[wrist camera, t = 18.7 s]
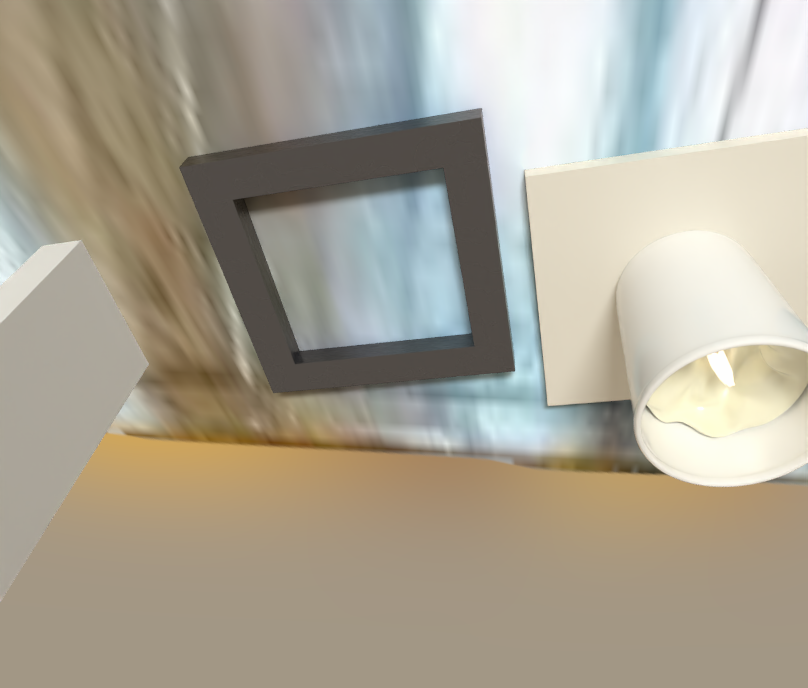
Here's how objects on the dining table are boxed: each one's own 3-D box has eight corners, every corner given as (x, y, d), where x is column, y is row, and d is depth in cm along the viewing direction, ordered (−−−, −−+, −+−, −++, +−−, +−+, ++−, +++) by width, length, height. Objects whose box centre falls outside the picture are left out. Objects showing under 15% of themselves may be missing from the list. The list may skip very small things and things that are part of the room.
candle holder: (719, 363, 46) (779, 504, 36) (579, 330, 45) (604, 465, 36) (801, 238, 40) (900, 368, 30) (641, 199, 39) (690, 319, 30)
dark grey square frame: (481, 108, 38) (481, 117, 37) (514, 357, 48) (514, 371, 47) (187, 157, 41) (178, 167, 40) (278, 379, 52) (273, 392, 51)
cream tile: (864, 119, 36) (872, 126, 35) (811, 375, 47) (817, 384, 46) (524, 169, 40) (525, 176, 39) (547, 396, 50) (547, 406, 49)
